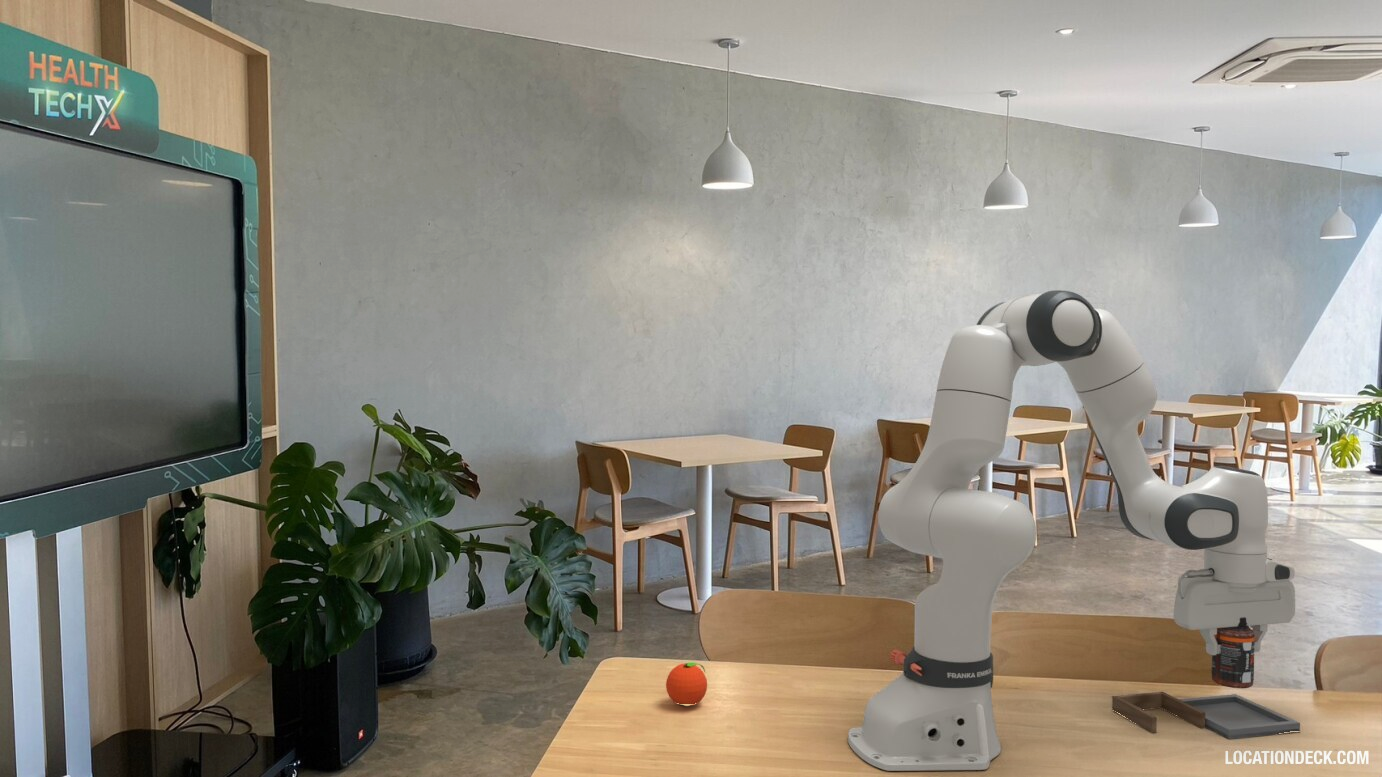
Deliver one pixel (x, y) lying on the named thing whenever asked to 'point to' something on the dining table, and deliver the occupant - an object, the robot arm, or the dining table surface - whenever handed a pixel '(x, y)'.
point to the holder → (1136, 703)
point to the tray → (1241, 717)
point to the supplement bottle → (1234, 656)
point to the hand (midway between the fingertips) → (1233, 652)
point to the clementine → (686, 684)
